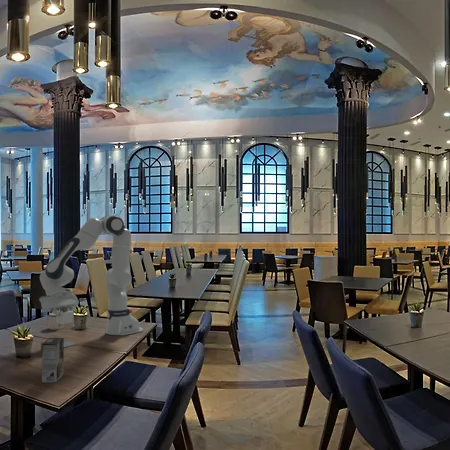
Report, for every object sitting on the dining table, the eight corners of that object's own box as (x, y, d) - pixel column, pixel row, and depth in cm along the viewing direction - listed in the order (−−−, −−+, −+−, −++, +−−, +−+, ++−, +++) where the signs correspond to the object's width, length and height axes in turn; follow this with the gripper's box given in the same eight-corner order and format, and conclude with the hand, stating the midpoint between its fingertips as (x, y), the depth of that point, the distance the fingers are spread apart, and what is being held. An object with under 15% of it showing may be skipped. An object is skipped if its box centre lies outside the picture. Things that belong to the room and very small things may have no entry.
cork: (43, 349, 214) (44, 341, 214) (46, 350, 212) (46, 342, 212) (39, 350, 212) (40, 342, 212) (42, 351, 211) (42, 343, 211)
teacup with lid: (61, 329, 255) (61, 311, 256) (46, 329, 255) (46, 311, 255) (67, 325, 267) (67, 307, 268) (53, 325, 267) (53, 307, 267)
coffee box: (48, 374, 177) (49, 337, 177) (63, 374, 178) (64, 337, 178) (40, 382, 168) (41, 343, 168) (57, 382, 169) (57, 343, 169)
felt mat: (67, 341, 229) (67, 341, 229) (77, 344, 224) (77, 343, 224) (52, 345, 222) (52, 344, 222) (62, 348, 216) (62, 347, 216)
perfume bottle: (67, 320, 227) (67, 305, 227) (73, 322, 224) (73, 306, 224) (56, 322, 222) (56, 307, 222) (62, 324, 218) (62, 308, 218)
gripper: (40, 293, 219) (50, 314, 213) (74, 289, 235) (84, 308, 229) (35, 300, 221) (45, 321, 215) (69, 296, 238) (79, 315, 232)
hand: (65, 314), depth 222 cm, fingers closed on perfume bottle, 6 cm apart
